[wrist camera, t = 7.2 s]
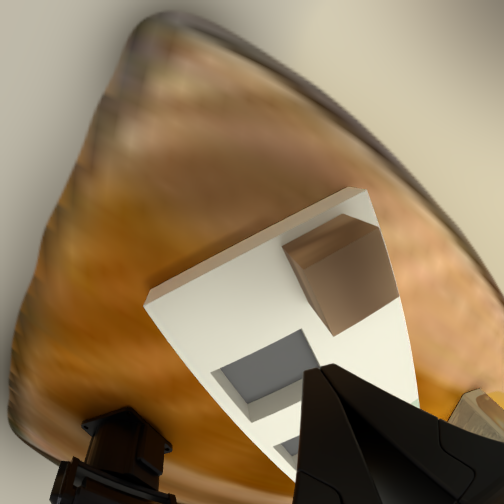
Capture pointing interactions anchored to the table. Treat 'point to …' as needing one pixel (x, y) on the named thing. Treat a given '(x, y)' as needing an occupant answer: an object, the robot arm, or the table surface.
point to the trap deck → (275, 331)
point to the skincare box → (479, 415)
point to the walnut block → (343, 271)
